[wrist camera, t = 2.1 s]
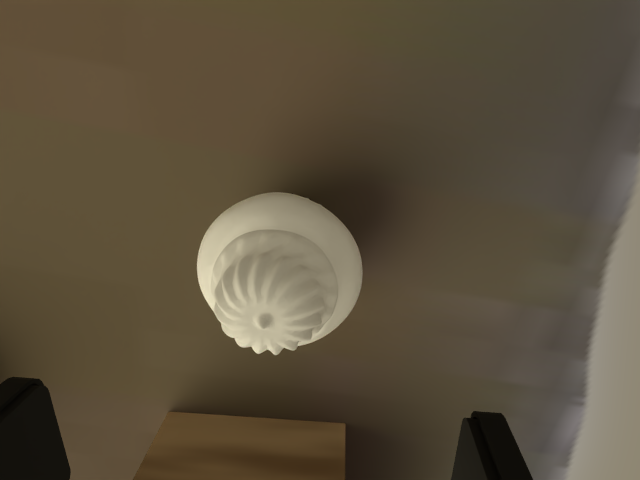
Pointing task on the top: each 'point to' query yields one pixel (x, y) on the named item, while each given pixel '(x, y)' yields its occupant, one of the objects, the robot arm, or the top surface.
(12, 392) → the robot arm
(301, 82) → the top surface
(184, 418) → the tower base
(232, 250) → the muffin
